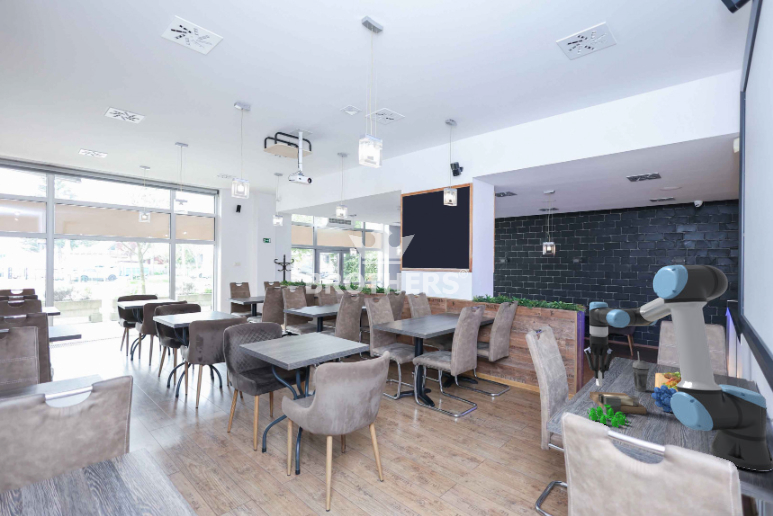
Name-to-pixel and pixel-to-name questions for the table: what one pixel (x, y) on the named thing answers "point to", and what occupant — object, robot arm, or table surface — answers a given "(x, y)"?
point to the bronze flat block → (617, 403)
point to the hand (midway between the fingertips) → (599, 385)
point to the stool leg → (622, 399)
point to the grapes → (663, 397)
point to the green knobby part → (608, 416)
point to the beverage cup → (640, 374)
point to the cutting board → (667, 379)
